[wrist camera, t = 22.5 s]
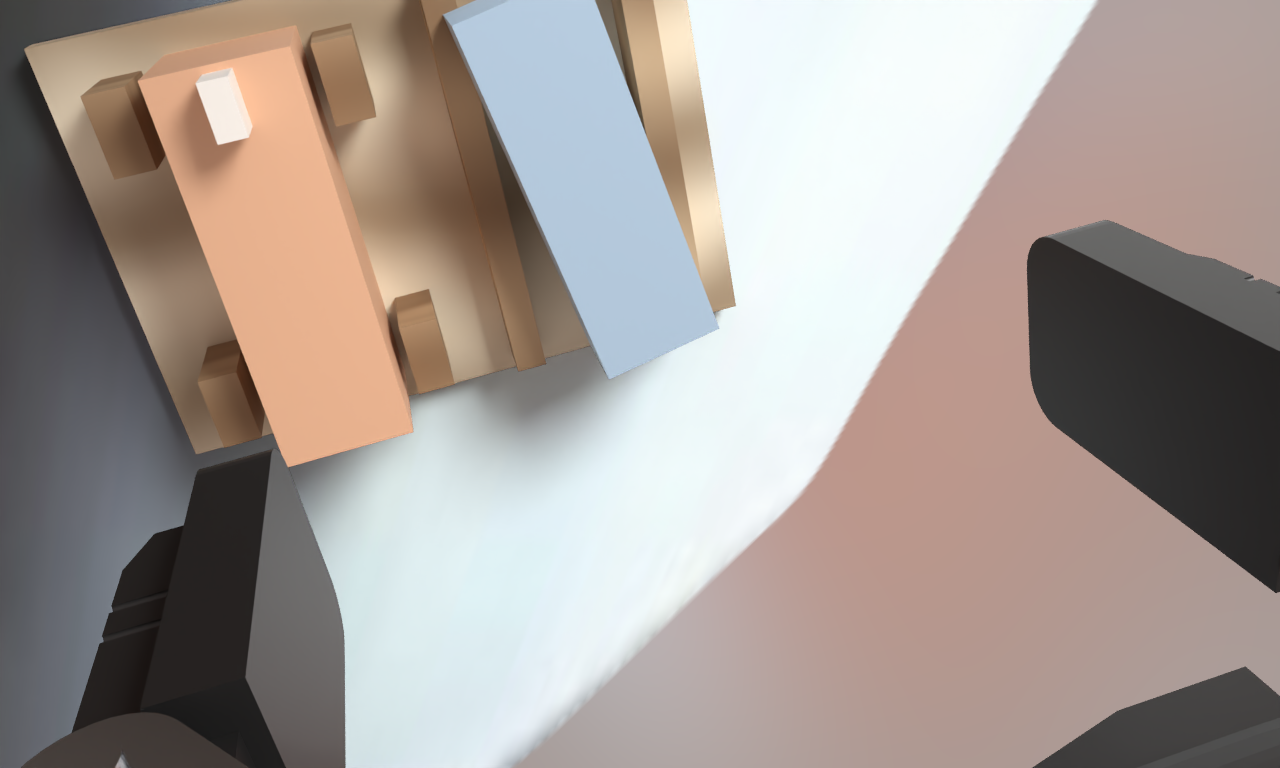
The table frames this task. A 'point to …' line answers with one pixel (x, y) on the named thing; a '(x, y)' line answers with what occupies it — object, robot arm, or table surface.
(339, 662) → the robot arm
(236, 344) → the jig
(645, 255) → the light blue rectangular block
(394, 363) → the knobbed wooden block
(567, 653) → the table surface
